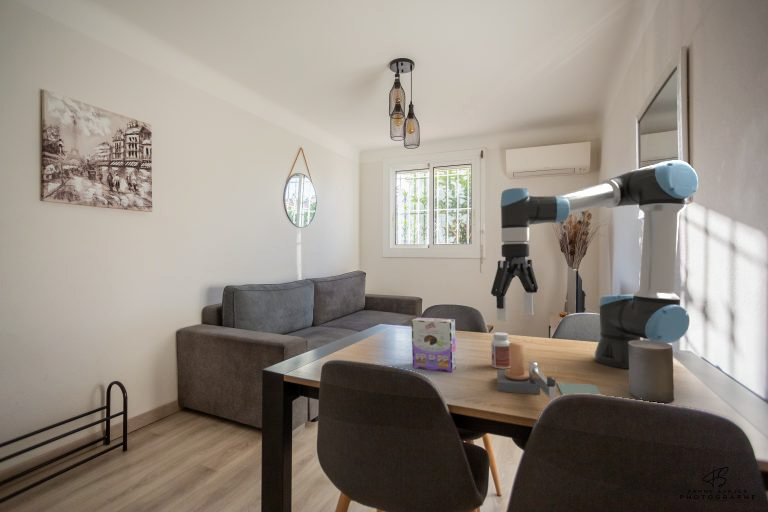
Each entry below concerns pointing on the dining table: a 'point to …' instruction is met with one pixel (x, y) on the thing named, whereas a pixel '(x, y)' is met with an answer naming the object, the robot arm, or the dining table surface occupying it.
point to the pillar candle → (651, 370)
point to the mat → (577, 388)
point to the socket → (515, 384)
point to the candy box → (434, 344)
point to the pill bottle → (500, 351)
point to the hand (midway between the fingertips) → (515, 317)
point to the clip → (542, 380)
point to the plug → (516, 363)
